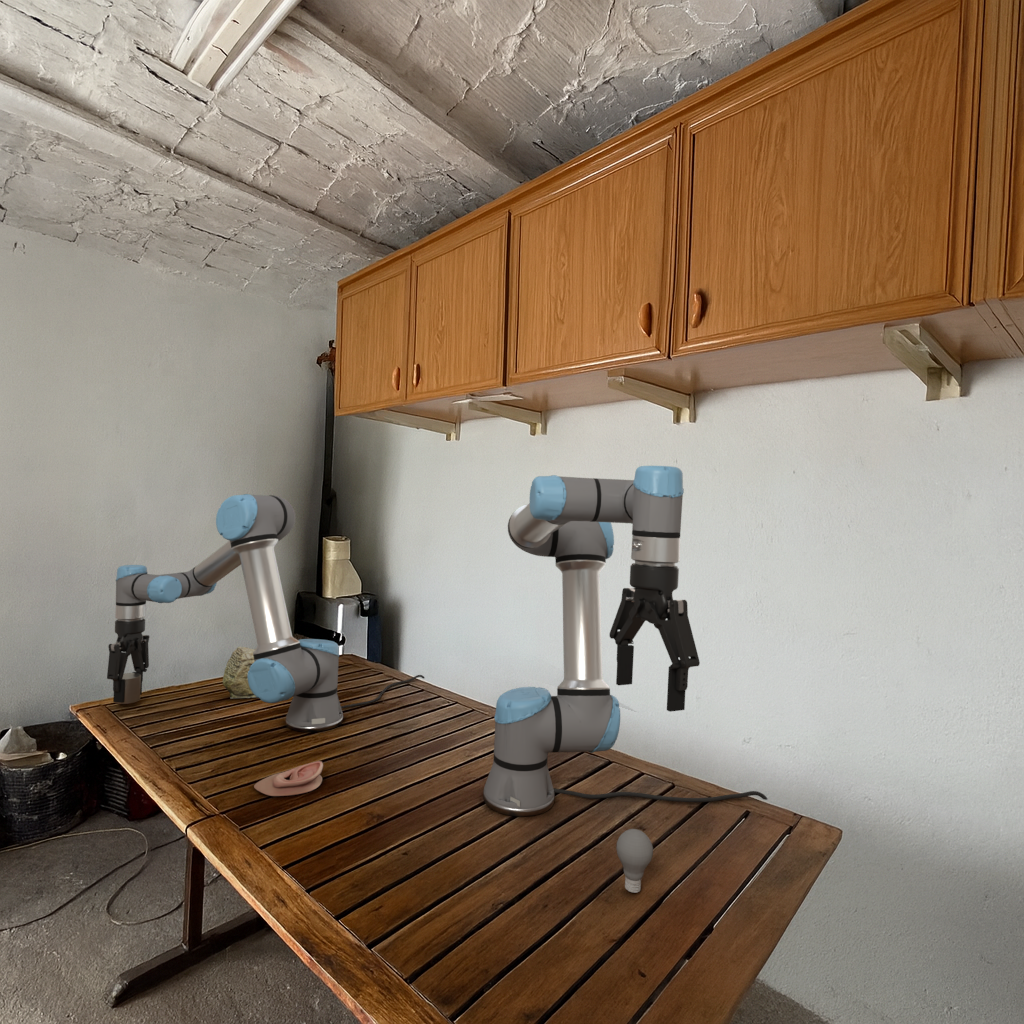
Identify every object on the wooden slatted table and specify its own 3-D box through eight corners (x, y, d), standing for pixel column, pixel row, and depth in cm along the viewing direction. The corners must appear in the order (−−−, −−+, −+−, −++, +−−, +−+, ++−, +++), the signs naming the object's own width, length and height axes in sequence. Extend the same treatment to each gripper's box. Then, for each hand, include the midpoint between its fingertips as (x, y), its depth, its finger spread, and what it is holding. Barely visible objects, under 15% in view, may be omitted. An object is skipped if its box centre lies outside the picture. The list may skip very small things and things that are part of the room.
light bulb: (610, 879, 108) (613, 822, 108) (644, 879, 109) (647, 822, 109) (619, 902, 102) (622, 840, 102) (655, 901, 103) (658, 840, 103)
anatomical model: (246, 773, 134) (276, 753, 145) (245, 792, 134) (276, 770, 145) (303, 782, 131) (330, 760, 142) (302, 801, 131) (329, 777, 142)
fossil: (218, 695, 195) (220, 647, 195) (278, 685, 208) (279, 640, 207) (228, 703, 189) (230, 653, 188) (289, 692, 201) (290, 645, 201)
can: (144, 697, 187) (145, 673, 187) (133, 704, 180) (133, 679, 180) (121, 696, 186) (122, 672, 186) (109, 703, 180) (110, 678, 180)
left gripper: (141, 612, 193) (139, 687, 193) (92, 624, 174) (89, 707, 174) (164, 613, 192) (162, 689, 192) (117, 626, 173) (114, 710, 173)
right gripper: (593, 555, 110) (587, 676, 111) (687, 573, 88) (679, 725, 88) (629, 555, 113) (623, 673, 114) (729, 572, 91) (721, 720, 91)
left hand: (127, 698), depth 183 cm, fingers closed on can, 6 cm apart
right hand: (648, 696), depth 101 cm, fingers open, 13 cm apart
